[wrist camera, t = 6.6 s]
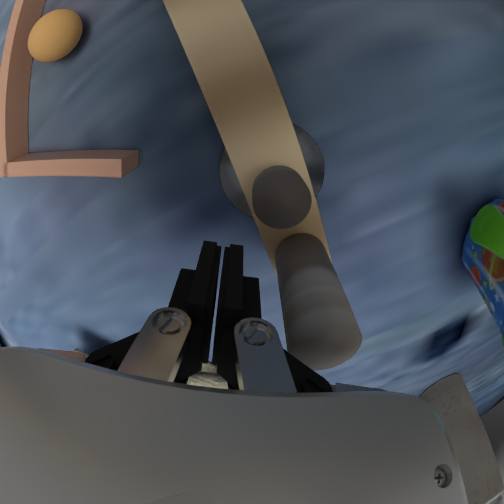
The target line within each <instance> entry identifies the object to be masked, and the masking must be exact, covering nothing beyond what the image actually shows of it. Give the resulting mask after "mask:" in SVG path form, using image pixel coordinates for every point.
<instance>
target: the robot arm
mask: <svg viewBox="0 0 504 504" xmlns="http://www.w3.org/2000/svg"><path fill="white" fill-rule="evenodd" d="M220 255H221V246H217V242H211V241H204V242H203V246H202V249H201V253H200V256H199V260H198V264H197V267H196V270H190V269H181V270H180V273H179V276H178V279H177V282H176V285H175V288H174V291H173V294H172V297H171V300H170V303H169V306H168V307H165V308H160V309H157V310H156V311H154V312H152V314H151V315H150V316H149V317H148V319H147V320H146V322H145V324H144V325H143V327H142V329H141V331H140V332H138V333H135V334H133V335H131V336H128V337H126V338H124V339H122V340H119V341H117V342H115V343H112V344H110V345H108V346H105V347H103V348H101V349H98V350H96V351H94V352H93V353H91V354H90V355H85V354H84V352H74V351H62V350H51V349H42V348H41V349H34V348H27V347H3V348H0V504H468V501H467V496H466V492H465V487H464V483H463V479H462V475H461V472H460V468H459V465H458V461H457V458H456V455H455V452H454V449H453V446H452V444H451V441H450V438H449V436H448V433H447V431H446V429H445V426H444V424H443V422H442V420H441V418H440V417H439V415H438V413H437V412H436V410H435V409H434V408H433V407H432V405H431V404H429V403H428V402H427V401H425V400H423V399H421V398H419V397H416V396H412V395H408V394H404V393H398V392H390V391H386V390H382V389H377V388H369V387H362V386H355V385H348V384H342V383H336V384H335V385H330V384H329V382H328V381H327V380H326V379H324V378H323V377H322V376H320V375H319V374H317V373H316V372H315V371H313V370H312V369H310V368H309V367H308V366H306V365H305V364H303V363H302V362H301V361H299V360H298V359H297V358H295V357H294V356H292V355H291V354H290V353H288V352H287V351H286V350H284V349H283V347H282V344H281V341H280V338H279V335H278V332H277V330H276V328H275V327H274V326H273V325H272V324H271V323H269V322H268V321H266V320H263V319H261V304H260V290H259V279H258V278H254V277H245V276H243V246H242V245H234V244H230V247H225V251H224V258H223V266H222V274H221V282H220V290H219V298H218V307H217V316H216V326H215V336H214V347H213V357H212V364H213V365H217V373H218V374H219V375H220V376H221V377H222V378H223V379H224V380H225V381H226V383H225V387H226V389H221V388H212V387H204V386H196V385H190V382H191V376H192V375H194V374H196V373H197V372H199V371H202V363H205V364H208V358H209V350H210V341H211V333H212V325H213V317H214V309H215V301H216V292H217V282H218V273H219V264H220Z"/></svg>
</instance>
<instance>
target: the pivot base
mask: <svg viewBox="0 0 504 504" xmlns="http://www.w3.org/2000/svg"><path fill="white" fill-rule="evenodd" d="M292 125H293V124H292ZM293 128H294V131H295V134H296V137H297V140H298V143H299V146H300V149H301V152H302V155H303V158H304V161H305V164H306V168H307V171H308V174H309V178H310V181H311V184H312V188H313V191H314V195H315V198H316V196H317V195H318V193H319V191H320V189H321V186H322V183H323V179H324V161H323V157H322V154H321V151H320V149H319V147H318V145H317V144H316V142H315V141H314V140H313V138H312V137H311V136H310V135H309V134H308V133H307V132H305V131H304V130H303V129H301V128H299V127H297V126H296V125H293ZM220 180H221V184H222V187H223V190H224V192H225V194H226V196H227V197H228V199H229V200H230V201H231V202H232V204H233V205H234V206H235V207H237V208H238V209H239V210H240V211H242V212H243V213H245V214H247V215H249V216H251V217H253V215H252V212H251V210H250V207H249V205H248V202H247V200H246V197H245V195H244V192H243V190H242V187H241V185H240V182H239V180H238V177H237V175H236V172H235V170H234V167H233V165H232V163H231V160H230V158H229V155H228V153H227V150H226V148H225V150H224V152H223V154H222V157H221V162H220Z"/></svg>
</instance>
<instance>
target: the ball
mask: <svg viewBox="0 0 504 504" xmlns="http://www.w3.org/2000/svg"><path fill="white" fill-rule="evenodd" d="M82 30H83V25H82V20H81V18H80V16H79V15H78V14H77V13H76V12H74V11H72V10H69V9H58V10H54V11H51V12H49V13H47V14H46V15H44V16H43V17H42V18H40V19H39V20H38V21H37V22H36V24H35V25H34V26H33V28H32V30H31V32H30V34H29V37H28V49H29V52H30V54H31V55H32V57H33V58H35V59H36V60H38V61H41V62H53V61H56V60H59V59H61V58H63V57H64V56H66V55H67V54H69V53H70V52H71V51H72V50H73V49H74V48H75V46H76V45H77V43H78V42H79V40H80V38H81V35H82Z"/></svg>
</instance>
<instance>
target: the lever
mask: <svg viewBox="0 0 504 504" xmlns="http://www.w3.org/2000/svg"><path fill="white" fill-rule="evenodd" d="M163 2H164V4H165V7H166V9H167V11H168V13H169V16H170V18H171V20H172V23H173V25H174V27H175V29H176V32H177V34H178V36H179V39H180V41H181V43H182V45H183V48H184V50H185V52H186V55H187V57H188V59H189V62H190V64H191V66H192V69H193V71H194V74H195V76H196V78H197V81H198V83H199V85H200V88H201V90H202V92H203V95H204V97H205V100H206V102H207V104H208V107H209V109H210V112H211V114H212V116H213V119H214V121H215V124H216V126H217V128H218V131H219V133H220V136H221V138H222V141H223V143H224V145H225V148H226V150H227V153H228V155H229V158H230V160H231V163H232V165H233V167H234V170H235V172H236V175H237V177H238V180H239V182H240V185H241V187H242V190H243V192H244V195H245V197H246V200H247V202H248V205H249V207H250V210H251V212H252V215H253V217H254V220H255V222H256V225H257V227H258V230H259V232H260V235H261V238H262V240H263V243H264V245H265V248H266V250H267V253H268V255H269V258H270V260H271V263H272V266H273V268H274V271H275V273H276V276H277V279H278V284H279V291H280V299H281V306H282V313H283V320H284V328H285V335H286V343H287V351H288V353H290V354H291V355H292V356H294V357H295V358H297V359H298V360H299V361H301V362H302V363H303V364H305V365H306V366H308V367H309V368H310V369H312V370H323V369H328V368H332V367H335V366H337V365H340V364H342V363H343V362H345V361H347V360H348V359H350V358H351V357H352V356H353V355H354V354H355V353H356V352H357V350H358V349H359V347H360V345H361V342H362V335H361V332H360V330H359V327H358V324H357V322H356V319H355V317H354V314H353V312H352V310H351V307H350V305H349V302H348V300H347V297H346V295H345V293H344V290H343V288H342V286H341V283H340V281H339V279H338V276H337V274H336V272H335V269H334V267H333V265H332V260H331V256H330V252H329V248H328V244H327V240H326V236H325V232H324V228H323V224H322V220H321V216H320V213H319V209H318V205H317V202H316V198H315V195H314V191H313V188H312V184H311V181H310V178H309V174H308V171H307V168H306V164H305V161H304V158H303V155H302V152H301V149H300V146H299V143H298V140H297V137H296V134H295V131H294V128H293V125H292V122H291V119H290V116H289V113H288V111H287V108H286V105H285V102H284V100H283V97H282V94H281V92H280V89H279V86H278V84H277V81H276V79H275V76H274V74H273V71H272V69H271V66H270V64H269V61H268V59H267V56H266V54H265V52H264V49H263V47H262V45H261V42H260V40H259V38H258V35H257V33H256V31H255V29H254V26H253V24H252V22H251V20H250V18H249V16H248V14H247V11H246V9H245V7H244V5H243V3H242V1H241V0H163Z"/></svg>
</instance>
